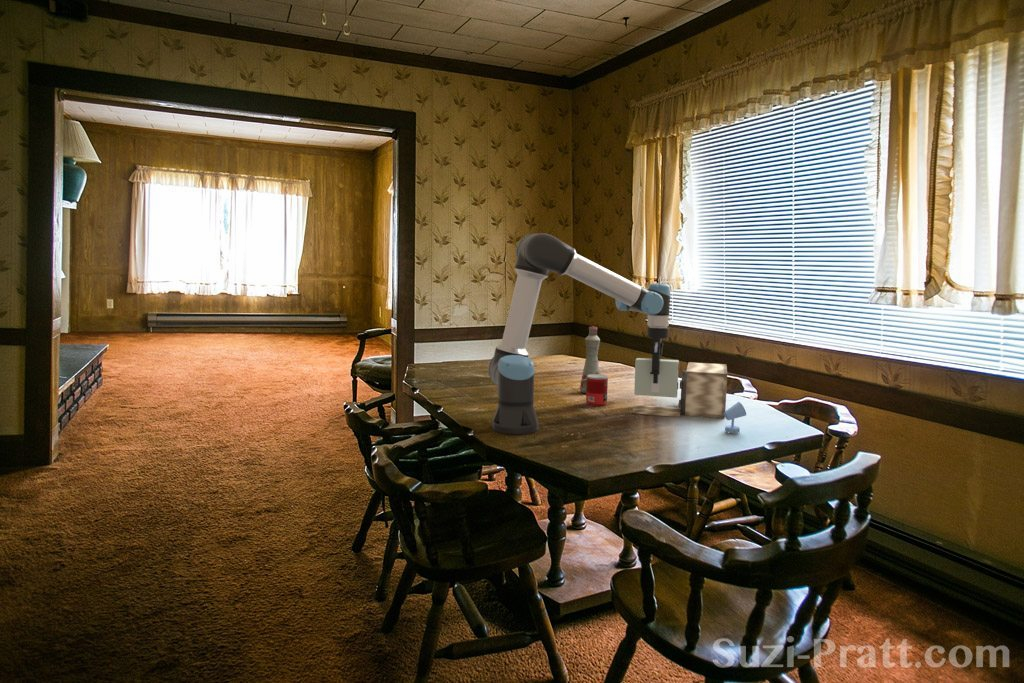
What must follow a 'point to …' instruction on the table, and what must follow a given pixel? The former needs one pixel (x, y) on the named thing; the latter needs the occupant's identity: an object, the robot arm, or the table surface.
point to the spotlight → (734, 413)
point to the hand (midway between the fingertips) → (655, 390)
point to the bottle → (590, 357)
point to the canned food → (596, 390)
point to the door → (667, 378)
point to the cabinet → (697, 393)
